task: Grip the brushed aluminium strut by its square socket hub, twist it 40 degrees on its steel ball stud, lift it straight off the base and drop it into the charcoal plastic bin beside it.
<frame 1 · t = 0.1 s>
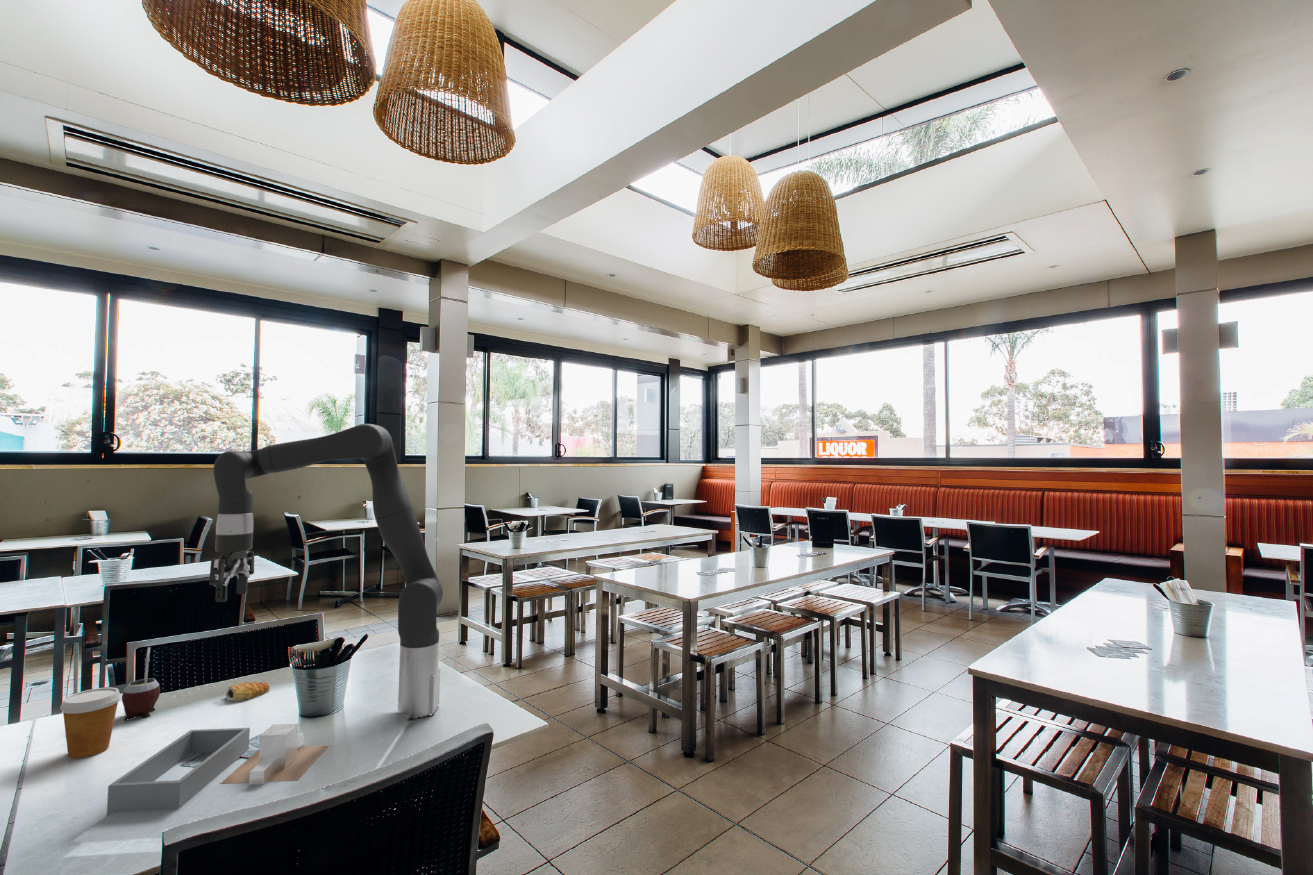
hand: (231, 597, 144), 29 cm above the table, tool pointing down, fingers open, 8 cm apart
stud base: (277, 770, 119), on the table
mate gourd: (140, 715, 145), on the table
disposable coffee cup: (88, 752, 126), on the table
strut: (278, 763, 119), point 1 cm above the table, touching stud base
bin: (184, 785, 114), on the table
pastry: (245, 697, 157), on the table
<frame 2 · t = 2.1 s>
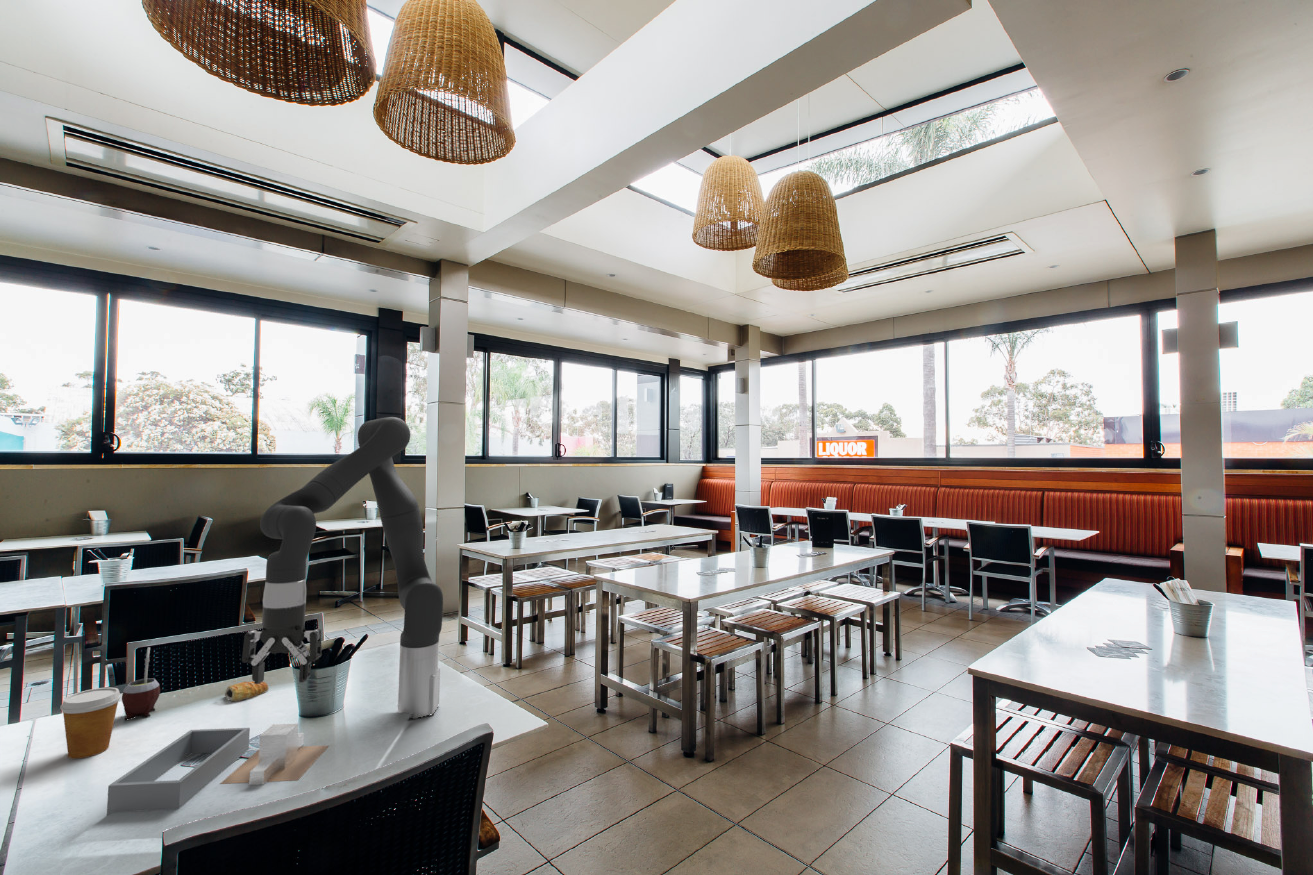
hand: (281, 681, 120), 18 cm above the table, tool pointing down, fingers open, 8 cm apart
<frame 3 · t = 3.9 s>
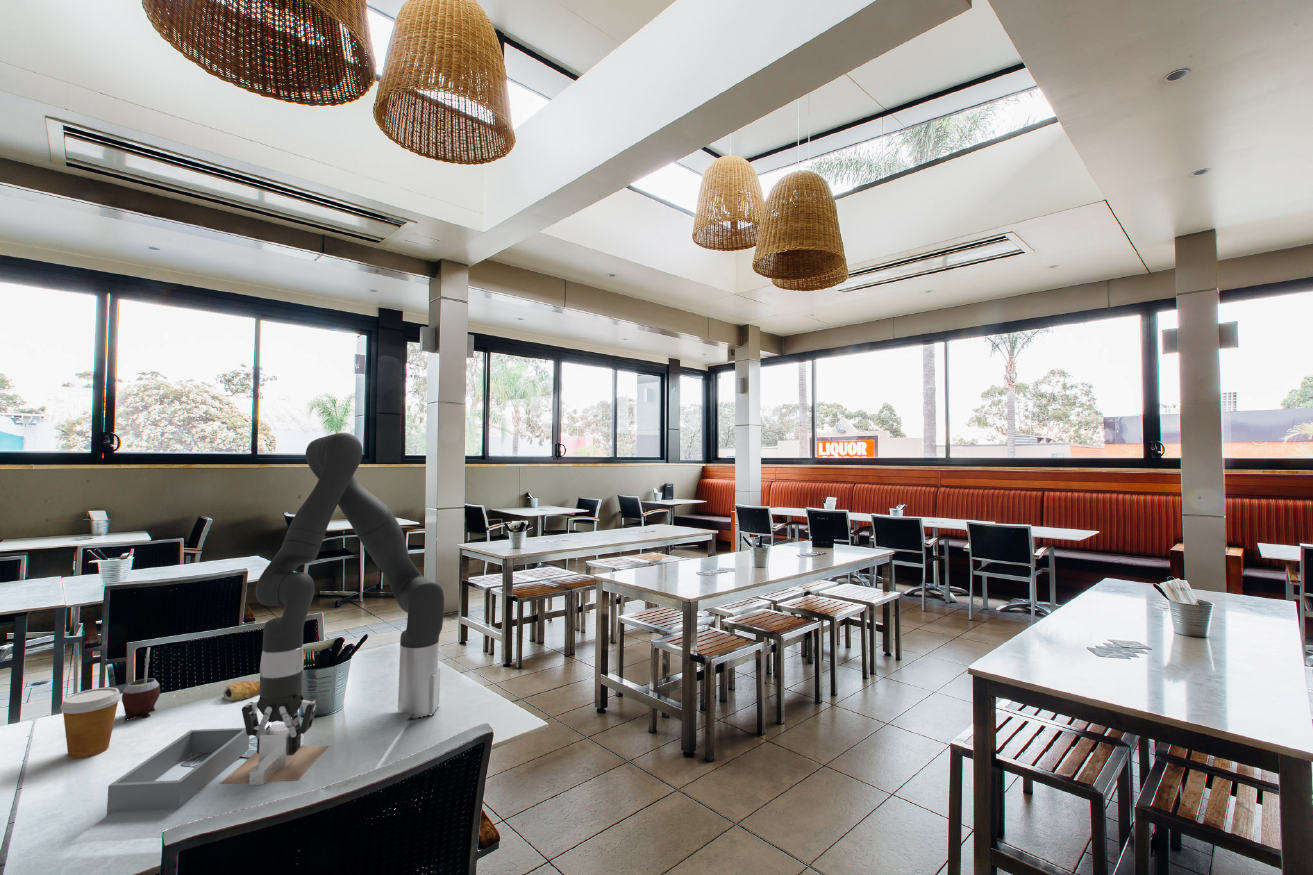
hand: (278, 753, 120), 3 cm above the table, tool pointing down, fingers closed on strut, 5 cm apart
strut: (278, 763, 119), point 2 cm above the table, touching gripper, stud base
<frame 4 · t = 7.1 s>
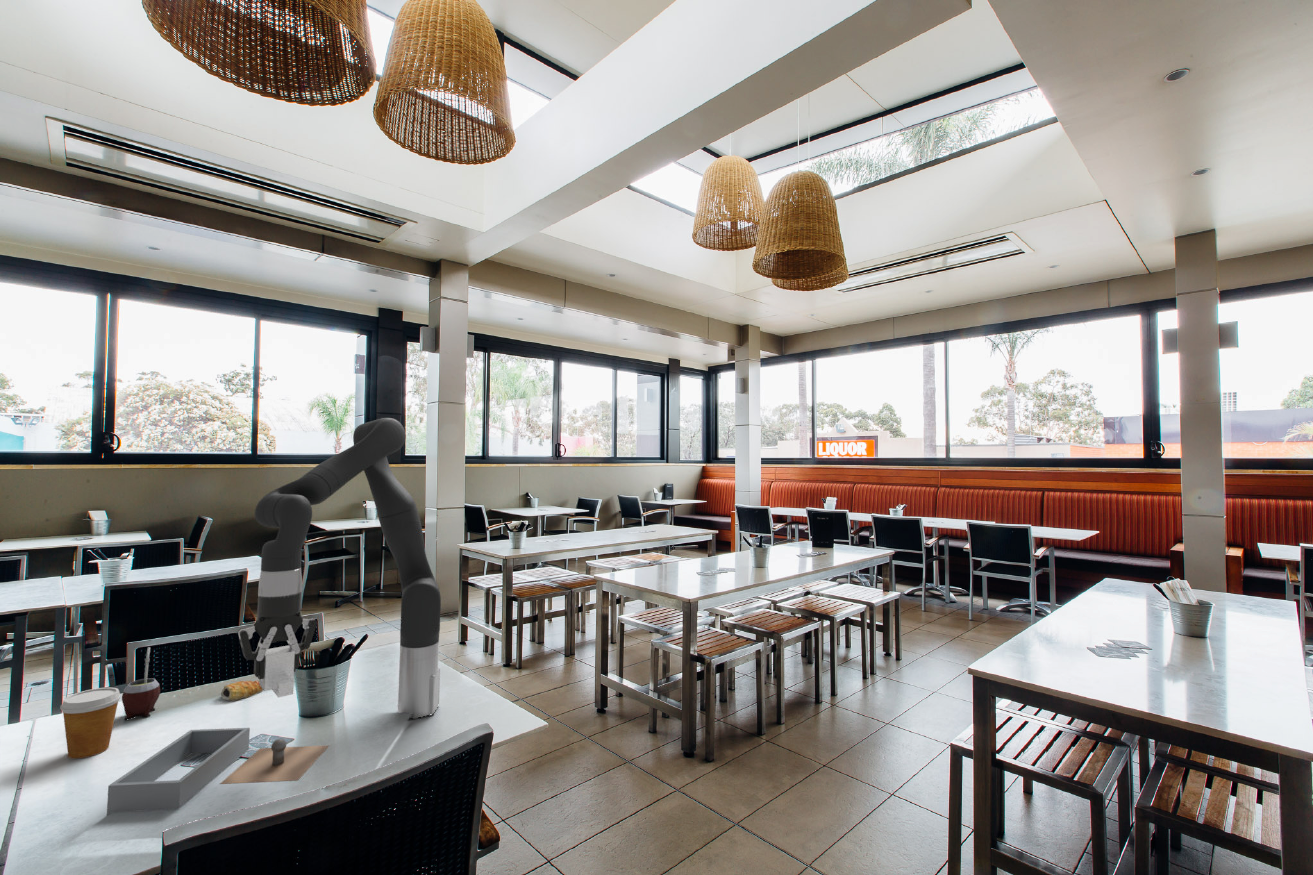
hand: (276, 674, 120), 19 cm above the table, tool pointing down, fingers closed on strut, 5 cm apart
strut: (276, 684, 120), point 17 cm above the table, touching gripper
when the fingers open (11 cm above the table, at t = 10.1 s): strut drops 9 cm, resting on bin.
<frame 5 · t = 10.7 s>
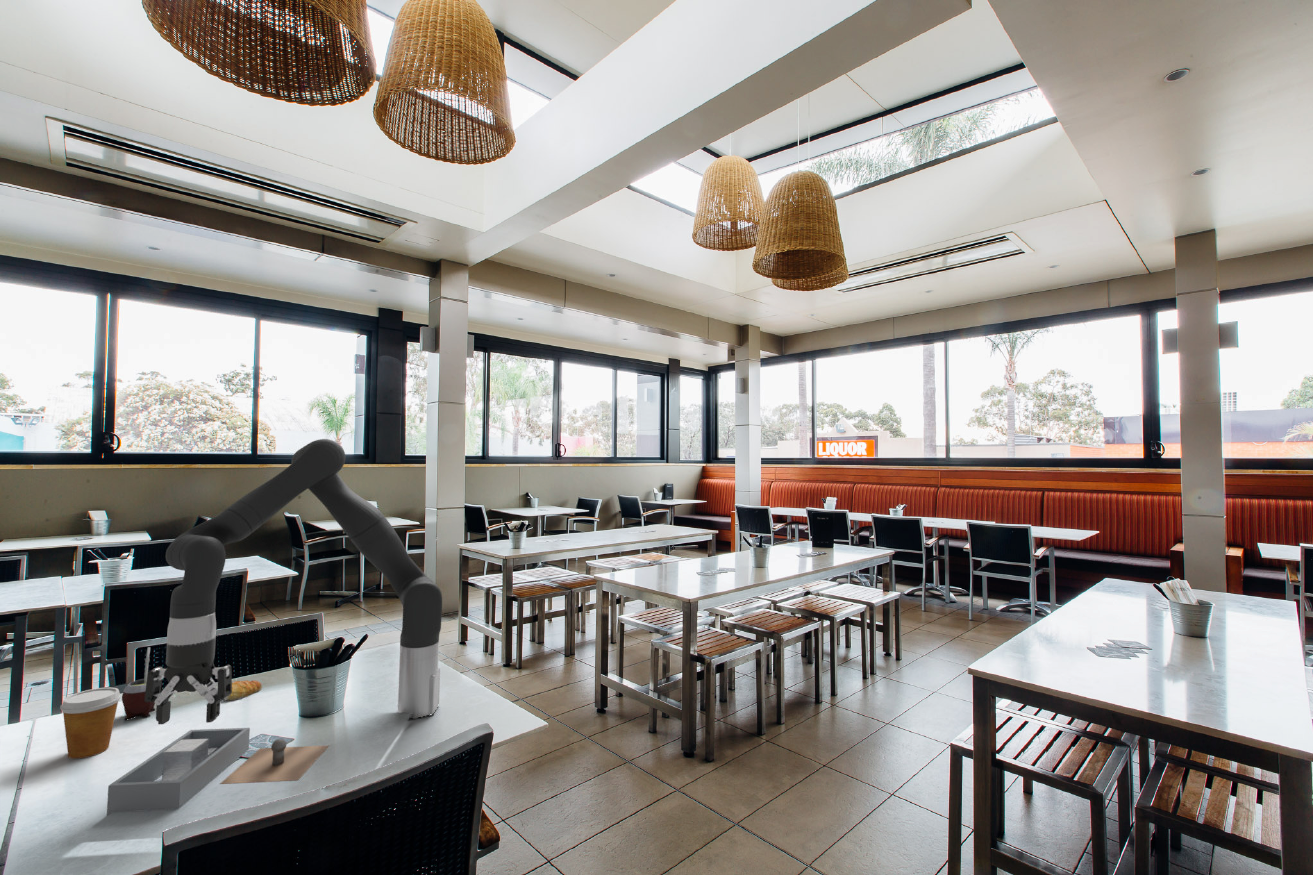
hand: (187, 721, 114), 12 cm above the table, tool pointing down, fingers open, 8 cm apart
strut: (184, 780, 114), point 1 cm above the table, touching bin
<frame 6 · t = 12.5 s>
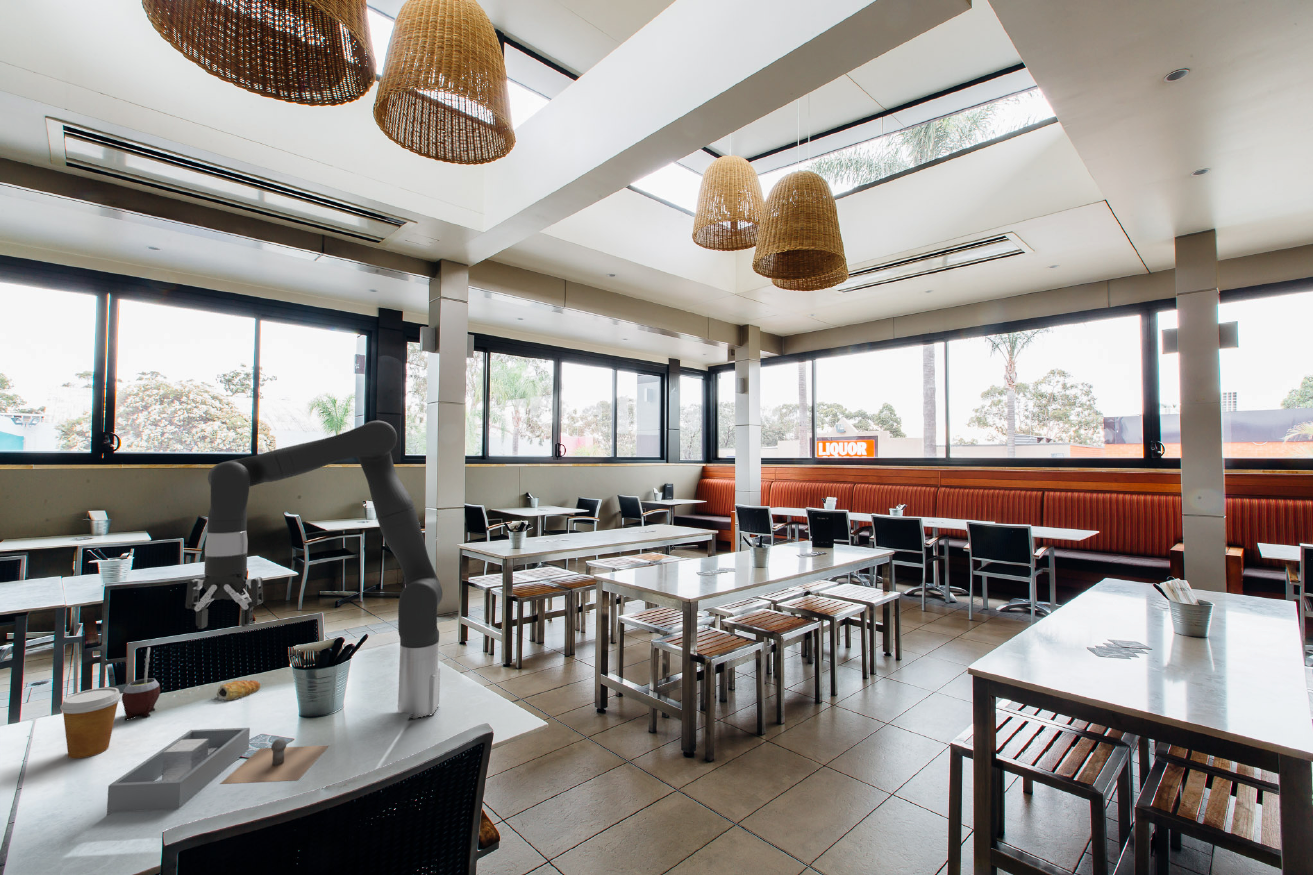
hand: (224, 626, 128), 27 cm above the table, tool pointing down, fingers open, 8 cm apart
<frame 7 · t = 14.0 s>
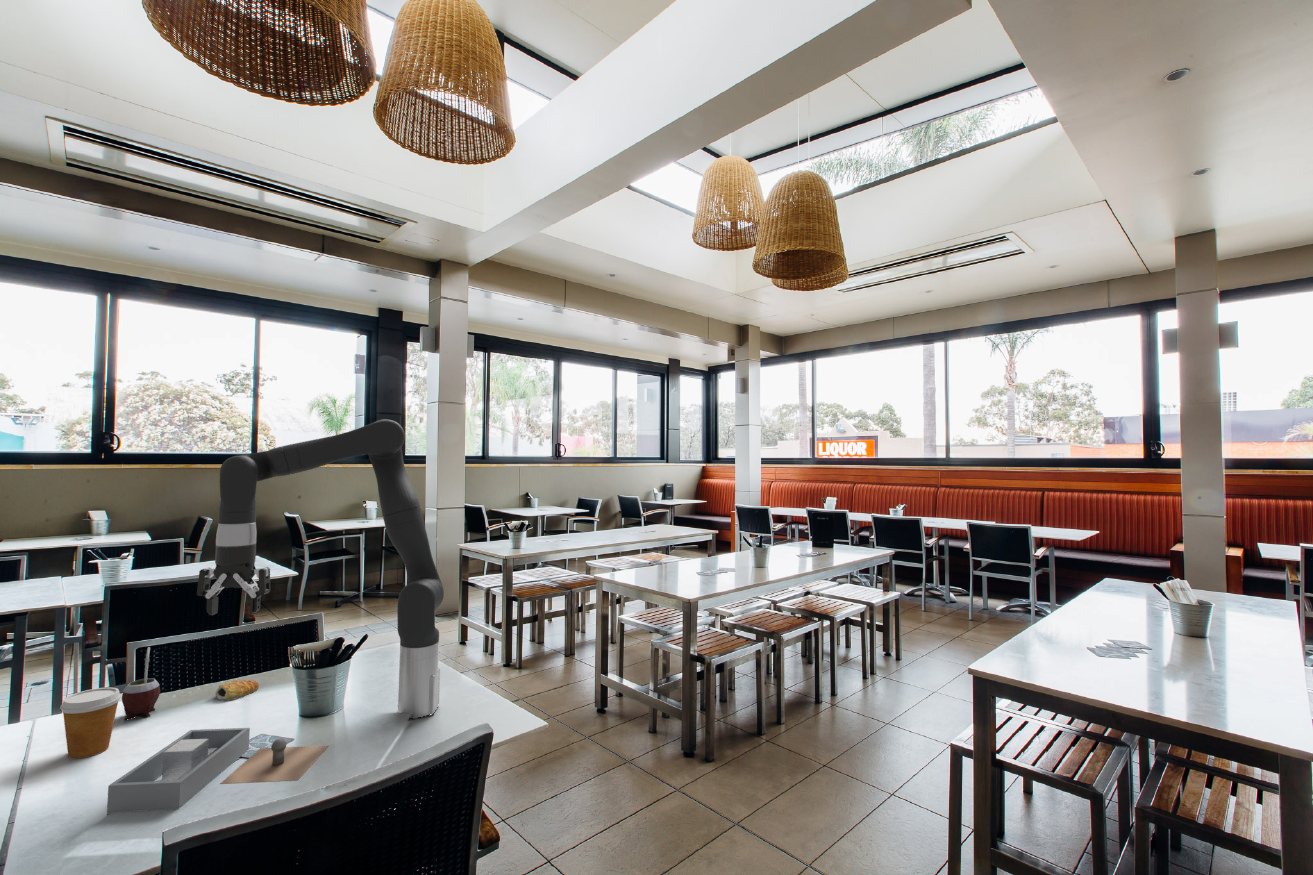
hand: (233, 614, 133), 28 cm above the table, tool pointing down, fingers open, 8 cm apart
at the end: strut inside the target area on the bin (0.1 cm from its centre), point 0.8 cm above the bin's base; the gripper is holding nothing; strut moved 15.6 cm from its start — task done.
